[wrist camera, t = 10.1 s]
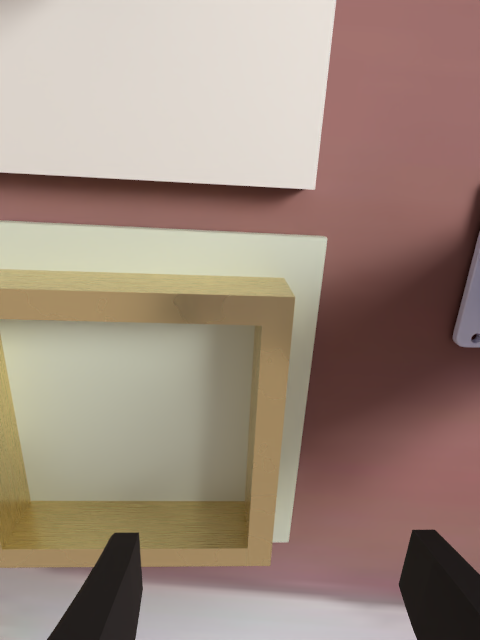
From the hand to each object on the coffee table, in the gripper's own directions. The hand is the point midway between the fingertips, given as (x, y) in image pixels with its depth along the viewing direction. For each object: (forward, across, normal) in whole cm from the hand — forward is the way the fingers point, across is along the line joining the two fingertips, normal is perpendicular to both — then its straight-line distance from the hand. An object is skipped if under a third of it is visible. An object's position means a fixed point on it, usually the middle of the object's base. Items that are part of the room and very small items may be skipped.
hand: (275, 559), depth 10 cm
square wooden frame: (+10, +6, +2) cm, 12 cm away
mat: (+10, +6, +2) cm, 12 cm away
